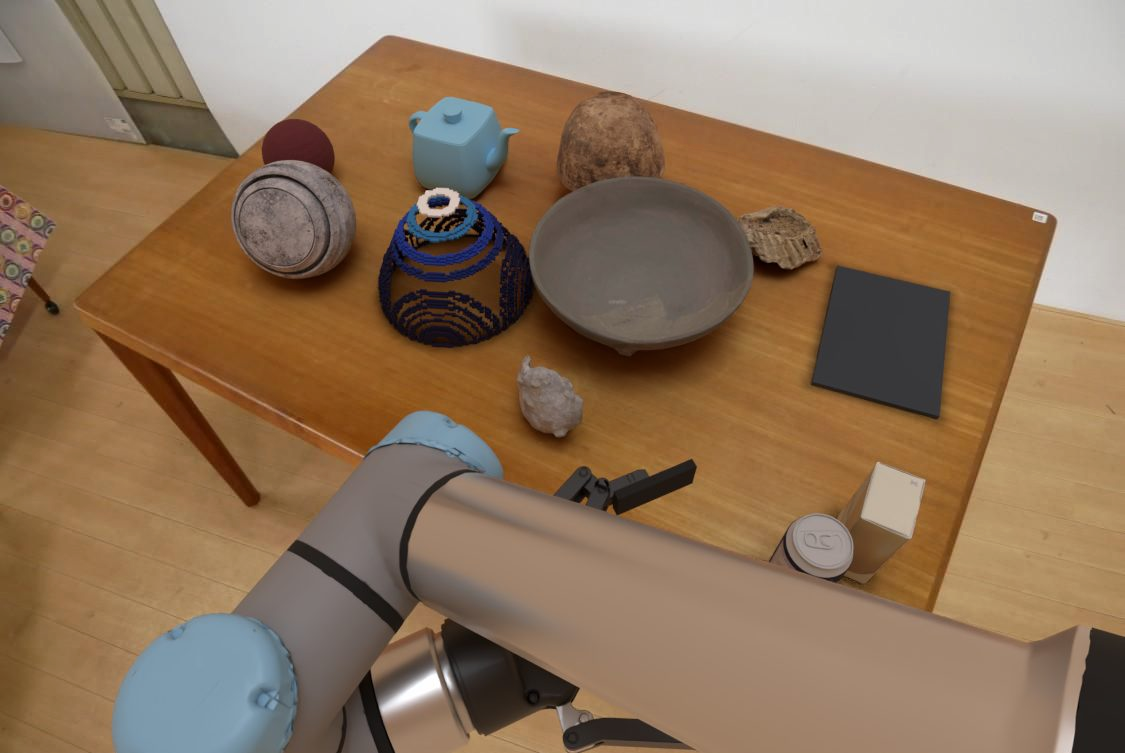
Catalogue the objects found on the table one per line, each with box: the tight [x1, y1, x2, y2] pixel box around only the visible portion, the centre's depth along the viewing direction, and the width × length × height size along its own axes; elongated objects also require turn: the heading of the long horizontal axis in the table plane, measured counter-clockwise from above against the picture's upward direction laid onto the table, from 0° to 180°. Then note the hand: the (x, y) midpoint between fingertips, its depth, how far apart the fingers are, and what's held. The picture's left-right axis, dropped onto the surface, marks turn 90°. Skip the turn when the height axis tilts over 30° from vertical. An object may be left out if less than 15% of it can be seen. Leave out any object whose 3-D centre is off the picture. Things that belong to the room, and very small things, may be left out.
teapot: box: [408, 96, 520, 200], centre depth 100 cm, size 12×18×12 cm
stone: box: [516, 355, 584, 438], centre depth 75 cm, size 9×7×10 cm
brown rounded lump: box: [555, 90, 666, 192], centre depth 96 cm, size 15×16×15 cm
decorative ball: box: [261, 118, 336, 175], centre depth 101 cm, size 10×10×10 cm
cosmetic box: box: [836, 461, 926, 585], centre depth 64 cm, size 6×4×12 cm
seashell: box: [737, 205, 823, 270], centre depth 91 cm, size 11×7×10 cm
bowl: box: [528, 176, 755, 357], centre depth 85 cm, size 26×26×10 cm
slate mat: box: [810, 265, 951, 420], centre depth 85 cm, size 20×14×1 cm
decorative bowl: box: [377, 188, 535, 349], centre depth 86 cm, size 20×20×14 cm
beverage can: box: [768, 512, 854, 584], centre depth 62 cm, size 6×6×12 cm
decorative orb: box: [230, 160, 357, 280], centre depth 90 cm, size 15×14×15 cm
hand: (741, 549), depth 49 cm, fingers open, 13 cm apart
